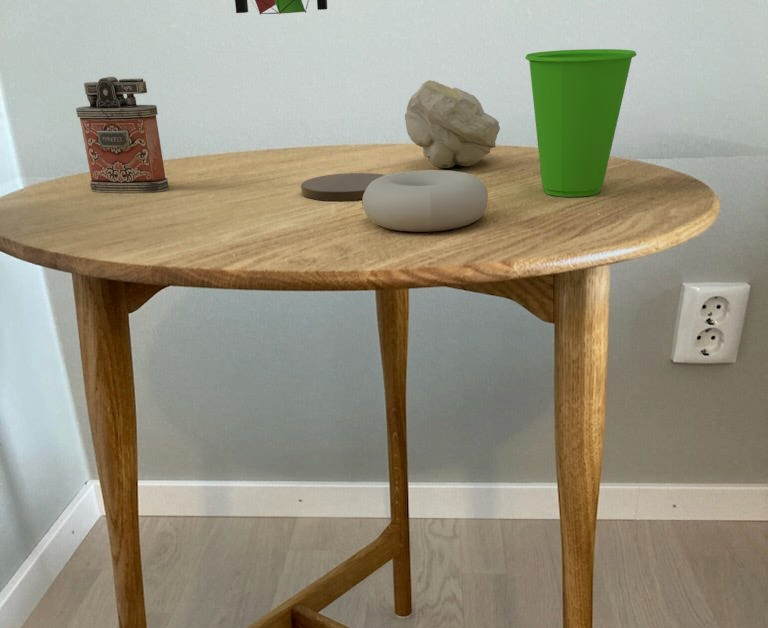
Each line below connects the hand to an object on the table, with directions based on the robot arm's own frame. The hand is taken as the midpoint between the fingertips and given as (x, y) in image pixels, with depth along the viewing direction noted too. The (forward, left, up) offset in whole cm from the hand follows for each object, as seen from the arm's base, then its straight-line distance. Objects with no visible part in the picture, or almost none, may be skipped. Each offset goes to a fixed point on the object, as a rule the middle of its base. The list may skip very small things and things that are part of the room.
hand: (282, 10), depth 82 cm
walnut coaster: (+6, -5, -15) cm, 17 cm away
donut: (+12, -19, -15) cm, 27 cm away
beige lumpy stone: (+15, +7, -15) cm, 23 cm away
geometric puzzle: (0, 0, 0) cm, 0 cm away
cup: (+26, -9, -15) cm, 31 cm away
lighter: (-17, 0, -15) cm, 22 cm away
